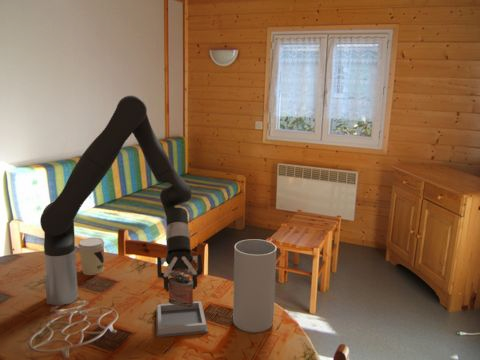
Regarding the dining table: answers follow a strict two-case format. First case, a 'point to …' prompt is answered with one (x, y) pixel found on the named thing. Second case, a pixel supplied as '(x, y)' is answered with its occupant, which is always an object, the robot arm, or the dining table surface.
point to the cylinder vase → (254, 285)
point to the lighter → (180, 289)
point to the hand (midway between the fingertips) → (181, 289)
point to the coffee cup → (92, 255)
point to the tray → (180, 320)
